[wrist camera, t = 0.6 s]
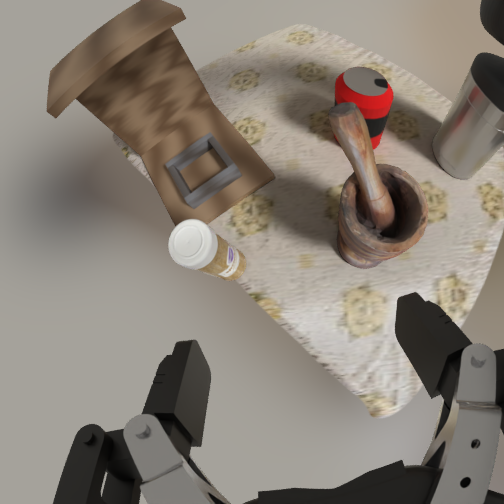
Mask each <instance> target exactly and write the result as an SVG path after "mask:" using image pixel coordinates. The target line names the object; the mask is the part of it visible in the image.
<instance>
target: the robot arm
mask: <svg viewBox="0 0 504 504" xmlns="http://www.w3.org/2000/svg"><path fill="white" fill-rule="evenodd" d="M480 17H481V22H482V24H483V26H484V28H485V30H486V31H487V32H488V33H489V34H491V35H492V36H493V37H494V38H495V39H496V40H497V41H499V42H500V43H501V44H503V45H504V0H482V1H481V7H480ZM503 144H504V58H502V57H499V56H497V55H494V54H491V53H480V54H478V55H477V56H476V58H475V59H474V61H473V64H472V66H471V68H470V71H469V73H468V75H467V77H466V79H465V81H464V83H463V85H462V87H461V89H460V91H459V93H458V95H457V97H456V99H455V101H454V103H453V105H452V107H451V109H450V110H449V112H448V114H447V116H446V118H445V120H444V121H443V123H442V125H441V126H440V128H439V130H438V132H437V133H436V135H435V137H434V139H433V142H432V148H433V152H434V155H435V157H436V159H437V161H438V163H439V164H440V165H441V167H442V168H443V169H444V170H445V171H446V172H448V173H449V174H450V175H452V176H453V177H455V178H458V179H463V180H465V179H469V178H471V177H472V176H473V175H474V174H475V173H476V172H477V171H478V170H479V169H480V168H481V167H483V166H484V165H485V164H486V163H487V161H488V160H489V159H490V158H491V157H492V156H493V155H494V154H495V153H496V152H497V151H498V150H499V149H500V148H501V147H502V146H503ZM395 334H396V338H397V340H398V342H399V344H400V345H401V347H402V349H403V350H404V352H405V354H406V355H407V357H408V359H409V360H410V362H411V364H412V365H413V367H414V369H415V370H416V372H417V374H418V376H419V377H420V379H421V381H422V383H423V384H424V386H425V388H426V390H427V392H428V393H429V395H430V397H431V399H432V398H434V397H436V396H438V395H440V394H441V395H442V397H443V401H442V403H441V408H440V412H439V416H438V420H437V424H436V428H435V431H434V434H433V438H432V441H431V444H430V446H429V448H428V450H427V453H426V454H425V457H424V459H423V461H422V463H421V465H410V466H404V464H403V461H402V460H400V461H398V462H395V463H392V464H389V465H387V466H384V467H381V468H378V469H375V470H372V471H369V472H367V473H365V474H363V475H361V476H359V477H357V478H355V479H354V480H352V481H350V482H348V483H346V484H343V485H341V486H339V487H337V488H334V489H305V488H291V489H282V490H272V491H260V492H258V498H257V499H254V500H251V501H248V502H245V503H244V504H504V495H503V494H500V493H497V492H494V491H491V490H488V487H489V484H490V480H491V476H492V472H493V468H494V463H495V458H496V452H497V447H498V441H499V434H500V428H501V430H502V432H503V434H504V349H501V350H496V351H493V350H492V349H491V348H489V347H488V346H486V345H484V344H472V342H470V340H469V339H468V338H467V337H466V335H465V334H464V333H463V332H462V331H461V330H460V328H459V327H458V326H457V325H456V324H455V323H454V322H452V319H451V318H450V317H449V316H448V315H446V313H445V312H444V311H443V310H442V309H441V307H440V306H438V305H436V304H434V303H432V302H430V301H426V302H425V301H424V300H423V298H422V297H421V296H420V295H419V294H418V293H416V292H414V293H411V294H408V295H404V296H401V297H399V298H398V300H397V311H396V322H395ZM210 383H211V372H210V368H209V365H208V363H207V361H206V359H205V357H204V355H203V352H202V351H201V348H200V346H199V344H198V342H197V341H196V340H188V341H179V342H177V343H176V344H175V347H174V351H173V353H172V355H167V356H166V357H165V358H164V360H163V361H162V362H161V363H160V364H159V367H158V369H157V372H156V376H155V378H154V380H153V384H152V386H151V389H150V392H149V395H148V397H147V400H146V403H145V406H144V409H143V412H142V414H141V415H138V416H135V417H134V418H132V419H131V420H130V421H129V422H128V423H127V424H126V426H125V428H124V429H121V430H115V431H110V432H105V431H104V430H103V429H102V428H101V427H100V426H98V425H95V424H89V425H86V426H84V427H82V428H81V429H80V430H79V431H78V432H77V434H76V436H75V439H74V441H73V444H72V447H71V449H70V453H69V455H68V458H67V461H66V463H65V466H64V469H63V472H62V475H61V478H60V481H59V485H58V488H57V491H56V495H55V498H54V502H53V504H139V500H140V494H141V491H142V493H143V495H144V497H145V499H146V501H147V503H148V504H231V503H230V502H229V501H228V500H227V499H226V498H225V497H224V496H223V495H222V494H221V493H220V492H219V491H218V490H217V489H216V488H215V487H214V486H213V484H212V483H211V482H210V480H209V479H208V478H207V477H206V475H205V474H204V473H203V471H202V470H201V469H200V468H199V466H198V465H197V463H196V462H195V461H194V459H193V458H192V457H191V455H190V449H191V447H195V446H197V447H201V444H202V437H203V430H204V423H205V416H206V410H207V403H208V396H209V390H210ZM105 472H107V473H108V474H107V477H106V481H105V485H104V489H103V494H102V497H101V487H102V483H103V479H104V475H105ZM142 482H143V483H142Z"/></svg>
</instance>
